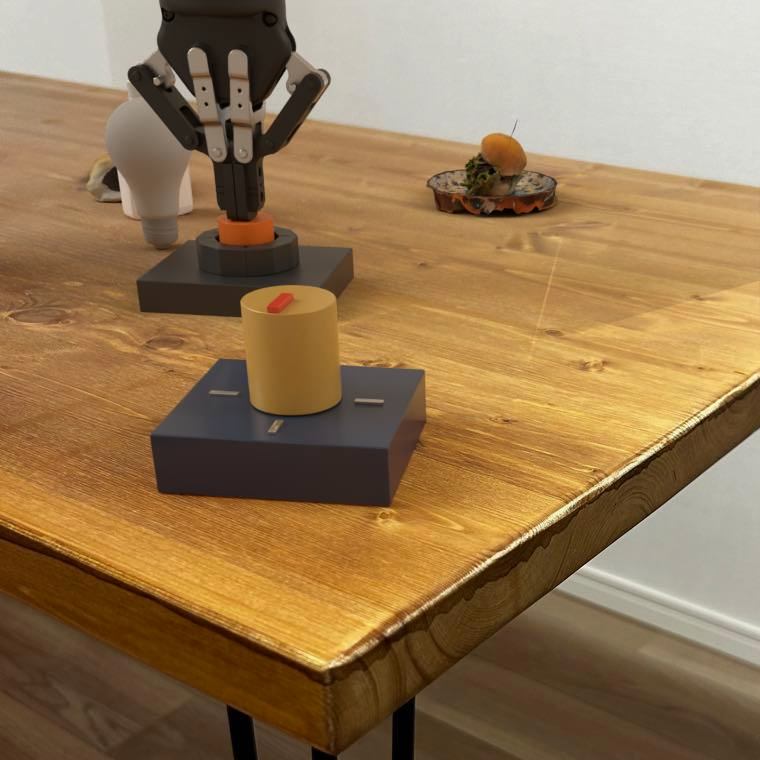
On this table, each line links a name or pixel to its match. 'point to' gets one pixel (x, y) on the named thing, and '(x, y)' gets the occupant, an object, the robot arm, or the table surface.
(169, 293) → the button box
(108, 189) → the pastry
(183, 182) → the plastic bottle
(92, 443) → the table surface
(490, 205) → the burger
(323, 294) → the dial
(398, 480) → the dial panel
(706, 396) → the table surface
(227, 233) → the button
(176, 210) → the lightbulb
